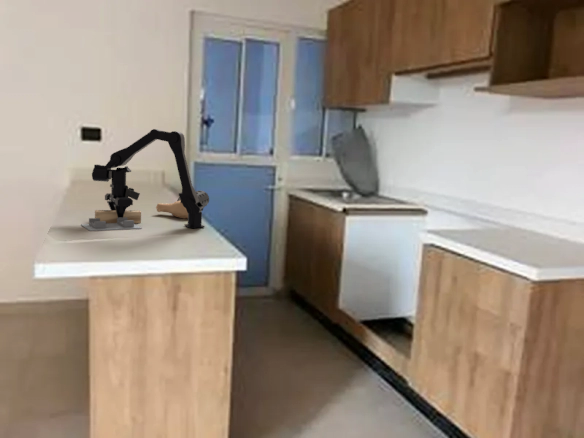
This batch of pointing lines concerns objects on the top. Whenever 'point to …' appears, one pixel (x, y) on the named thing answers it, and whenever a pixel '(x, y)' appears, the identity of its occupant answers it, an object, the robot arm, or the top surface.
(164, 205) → the squash
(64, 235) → the top surface
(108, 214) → the oak rail
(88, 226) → the mount board
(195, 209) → the robot arm
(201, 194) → the muzzle brake
